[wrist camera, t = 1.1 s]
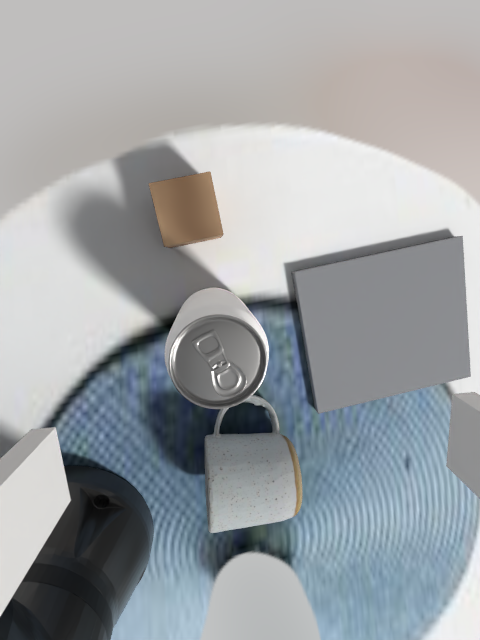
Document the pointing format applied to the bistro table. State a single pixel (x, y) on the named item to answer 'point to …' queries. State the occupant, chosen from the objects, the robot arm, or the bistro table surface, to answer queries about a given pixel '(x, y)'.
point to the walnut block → (186, 209)
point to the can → (216, 350)
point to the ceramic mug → (250, 476)
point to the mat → (384, 323)
